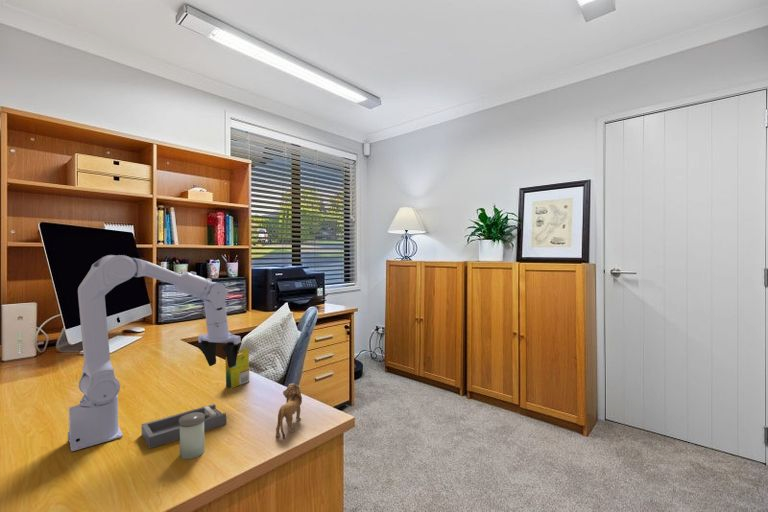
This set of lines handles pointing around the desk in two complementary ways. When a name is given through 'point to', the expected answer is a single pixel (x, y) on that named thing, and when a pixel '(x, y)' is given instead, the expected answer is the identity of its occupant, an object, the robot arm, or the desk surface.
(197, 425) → the jar
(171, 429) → the pusher lane
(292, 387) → the lion figurine
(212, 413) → the pusher
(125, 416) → the desk surface
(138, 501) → the desk surface
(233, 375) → the crayon box
